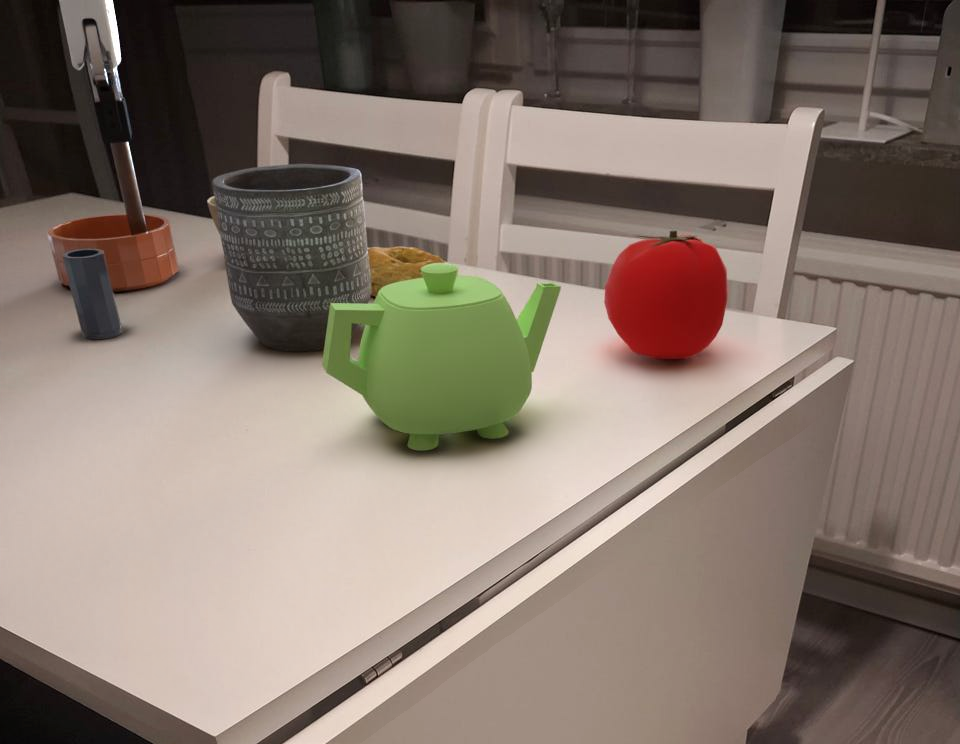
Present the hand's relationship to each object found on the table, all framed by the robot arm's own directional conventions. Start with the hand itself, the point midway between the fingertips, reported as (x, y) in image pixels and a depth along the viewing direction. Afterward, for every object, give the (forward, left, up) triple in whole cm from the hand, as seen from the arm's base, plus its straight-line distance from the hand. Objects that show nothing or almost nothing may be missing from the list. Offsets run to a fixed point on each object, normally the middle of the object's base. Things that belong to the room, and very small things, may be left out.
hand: (117, 139), depth 116 cm
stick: (0, 0, -13) cm, 13 cm away
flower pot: (+14, +5, -15) cm, 21 cm away
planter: (+17, -31, -15) cm, 38 cm away
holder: (-4, -23, -15) cm, 28 cm away
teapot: (+26, -59, -15) cm, 66 cm away
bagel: (+30, -17, -15) cm, 37 cm away
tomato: (+50, -47, -15) cm, 70 cm away
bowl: (-3, 0, -15) cm, 15 cm away
